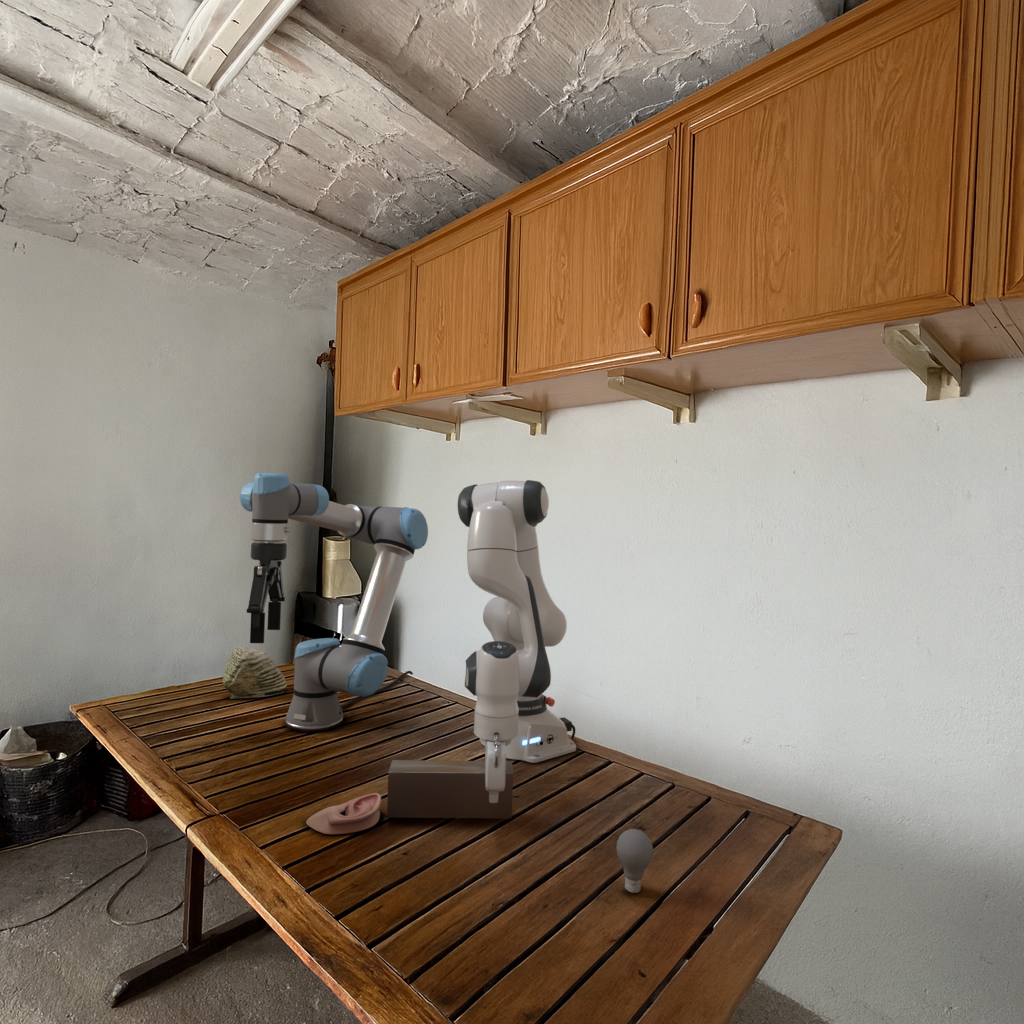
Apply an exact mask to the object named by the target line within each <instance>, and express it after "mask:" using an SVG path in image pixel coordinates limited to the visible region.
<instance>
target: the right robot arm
mask: <svg viewBox="0 0 1024 1024" xmlns="http://www.w3.org/2000/svg"><path fill="white" fill-rule="evenodd" d="M549 507H550V499H549V494H548V492H547V489H546V486H545V485H544V484H543V483H542V482H541V481H538V480H532V479H527V480H500V481H496V482H489V483H481V484H477V483H476V484H472V485H468V486H465V487H464V488H462V490H461V491H460V493H459V494H458V498H457V513H458V517H459V519H460V521H461V522H462V524H463V525H464V526H465V527H468V533H467V535H468V536H467V545H466V546H467V548H466V549H467V550H466V551H467V552H466V558H467V559H466V562H467V572H468V573H467V574H468V576H469V578H470V580H471V582H472V583H473V584H475V585H476V586H477V587H478V588H479V589H480V590H482V591H484V592H486V593H488V594H490V595H493V596H495V597H492V598H490V599H489V600H488V601H487V602H486V604H485V606H484V608H483V613H482V621H483V624H484V626H485V627H486V629H487V630H488V632H489V633H490V635H491V637H492V639H493V640H492V641H487V642H486V643H483V644H482V645H481V647H480V649H479V650H475V651H473V652H472V653H471V654H470V655H469V656H468V657H467V659H465V677H464V687H465V689H467V690H468V692H470V693H471V694H472V695H473V696H475V697H476V703H475V706H474V715H473V716H474V717H473V720H474V721H473V734H474V735H475V736H476V737H477V738H479V743H481V745H483V746H484V761H485V786H486V790H487V791H489V802H490V803H497V802H498V794H499V792H501V791H504V789H505V775H506V761H507V759H509V760H516V761H524V762H526V763H527V762H528V763H530V764H531V763H532V764H537V763H541V762H544V761H547V760H550V759H553V758H557V757H561V756H564V755H567V754H571V753H574V752H576V751H577V745H576V742H575V741H573V740H574V739H575V736H576V726H575V725H574V724H573V722H572V721H571V720H569V719H568V718H566V717H559V716H557V715H556V714H555V713H554V712H553V711H551V710H550V709H548V707H554V706H555V704H556V700H555V699H554V698H552V697H551V696H548V697H547V696H546V695H544V693H545V692H546V691H547V690H548V688H549V687H550V686H551V680H552V669H551V665H550V662H549V658H548V653H547V650H546V648H550V647H556V646H558V645H559V644H560V643H561V642H562V640H564V638H565V636H566V633H567V628H568V622H567V618H566V617H567V616H566V614H565V613H564V612H563V611H562V610H561V609H560V608H559V607H558V605H557V604H556V603H555V602H554V600H553V599H552V598H553V597H552V596H551V594H550V592H549V591H548V588H547V586H546V584H545V581H544V578H543V574H542V567H541V560H540V550H539V541H538V535H537V534H538V533H537V528H536V527H537V526H538V524H540V523H542V522H543V521H544V520H545V519H546V518H547V516H548V511H549V509H550V508H549ZM568 732H572V733H571V737H569V735H568Z"/></svg>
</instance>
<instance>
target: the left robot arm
mask: <svg viewBox="0 0 1024 1024" xmlns="http://www.w3.org/2000/svg"><path fill="white" fill-rule="evenodd" d="M239 502H240V505H241V506H242V508H244V510H245V511H247V512H249V513H250V512H251V515H252V517H251V518H252V519H251V533H250V534H251V535H250V539H251V540H252V541H253V542H251V544H250V559H252V560H255V561H259V563H258V565H254V567H253V577H252V581H251V589H250V594H249V600H248V605H247V608H246V613H247V614H250V631H249V633H250V634H249V637H250V638H249V644H264V643H265V626H266V624H265V623H266V612H265V607H266V602H267V599H268V597H269V601H268V604H267V605H268V606H267V631H281V620H282V619H281V618H282V617H281V614H282V602H285V601H286V597H285V592H284V583H283V571H282V564H283V562H282V561H283V560H284V561H285V560H286V559H287V556H288V555H287V554H288V553H287V551H288V544H287V543H286V541H287V540H288V533H289V532H290V531H291V529H290V527H288V523H289V520H292V521H297V522H301V523H305V524H308V525H311V526H316V527H320V528H325V529H329V530H332V531H336V532H337V533H338V534H339V535H340V536H343V537H345V538H349V539H353V540H356V541H359V542H363V543H365V544H369V545H373V548H374V550H375V552H376V555H375V558H374V560H373V565H372V567H371V570H370V573H369V577H368V580H367V583H366V586H365V590H364V593H363V596H362V598H361V602H360V604H359V608H358V610H357V614H356V617H355V620H354V624H353V625H352V628H351V633H350V634H349V635H347V636H345V637H344V638H343V639H342V641H341V643H340V640H339V639H338V638H335V637H324V638H323V637H322V638H313V639H308V640H304V641H302V642H299V643H298V644H297V645H296V647H295V652H294V653H295V654H294V657H293V659H294V660H293V662H294V663H293V665H294V666H293V695H292V696H293V697H292V699H291V702H290V704H289V708H288V711H287V713H286V715H285V726H286V728H287V729H289V730H291V731H294V732H295V731H296V732H301V733H316V732H325V731H329V730H332V729H335V728H337V727H339V726H340V725H342V723H343V722H344V714H343V709H345V708H346V707H348V706H350V705H351V704H352V703H354V702H356V701H358V700H361V699H365V698H367V697H370V696H372V695H373V696H374V695H375V694H379V693H380V692H383V691H385V690H387V689H388V688H390V687H392V686H394V685H395V684H396V683H398V682H399V681H400V680H401V679H402V678H404V677H406V676H407V675H411V676H412V675H414V672H413V671H412V670H407V671H405V672H403V673H402V674H401V675H399V676H397V678H395V680H393V681H392V682H390V683H388V684H387V685H385V686H383V685H384V683H385V681H386V679H387V676H388V672H389V666H388V664H389V662H388V659H387V657H386V656H385V652H386V648H385V646H384V644H383V642H382V641H383V639H384V635H385V632H386V629H387V626H388V622H389V619H390V615H391V612H392V609H393V605H394V603H395V599H396V595H397V593H398V589H399V586H400V583H401V580H402V576H403V573H404V570H405V566H406V563H407V562H408V561H410V560H412V559H413V558H414V555H415V551H416V550H420V549H422V548H423V547H424V546H425V545H426V544H427V541H428V536H429V526H428V523H427V519H426V517H425V515H424V513H423V512H422V511H420V510H419V509H417V508H411V507H407V506H404V507H398V506H380V505H374V506H373V505H372V506H371V505H356V504H353V503H348V504H341V503H338V502H334V501H332V500H330V495H329V492H328V490H327V489H326V488H325V487H324V486H323V485H320V484H314V483H291V482H290V475H289V474H286V473H277V472H275V473H274V472H259V473H256V474H255V475H254V478H253V482H248V483H246V484H245V485H244V486H243V487H242V488H241V490H240V494H239ZM340 644H341V645H340ZM338 693H342V694H347V695H350V696H353V698H351V699H350V700H348V701H347V702H345V703H344V704H341V702H340V699H339V695H338Z"/></svg>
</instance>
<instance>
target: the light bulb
mask: <svg viewBox="0 0 1024 1024" xmlns="http://www.w3.org/2000/svg"><path fill="white" fill-rule="evenodd" d="M615 849H616V854H617V857H618V859H619V861H620V863H621V865H622V867H623V873H624V874H623V875H624V876H625V878H624V888H625V890H627V891H628V892H630V893H634V894H635V893H639V892H640V891H641V889H642V887H641V886H642V879H643V877H644V875H645V871H646V868H647V867H648V866H649V864H650V863H651V861H652V859H653V855H654V847H653V843H652V841H651V838H649V836H648V835H647V834H646V833H645V832H643V831H642V830H641V829H636V828H629V829H627V830H625V831H623V832H622V833H621V834H620V835H619V837H618V839H617V841H616V847H615Z"/></svg>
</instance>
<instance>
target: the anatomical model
mask: <svg viewBox="0 0 1024 1024" xmlns="http://www.w3.org/2000/svg"><path fill="white" fill-rule="evenodd" d="M381 803H382V796H381V794H380V793H379V792H373V793H368V794H364V795H362V796H358V797H356V798H353V799H351V800H348V801H346V802H343V803H340V804H338V805H332V806H328V807H325V808H323V809H321V810H319V811H317V812H315V813H313V814H312V815H311V816H310V817H308V818H307V819H306V821H305V824H306V825H307V826H308V827H309V828H311V829H312V830H314V831H316V832H319V833H321V834H323V835H343V834H351V833H356V832H362V831H365V830H367V829H369V828H370V829H371V828H372V827H374V826H375V825H376V824H377V823H379V821H380V818H381V812H380V810H379V809H380V807H381Z"/></svg>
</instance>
